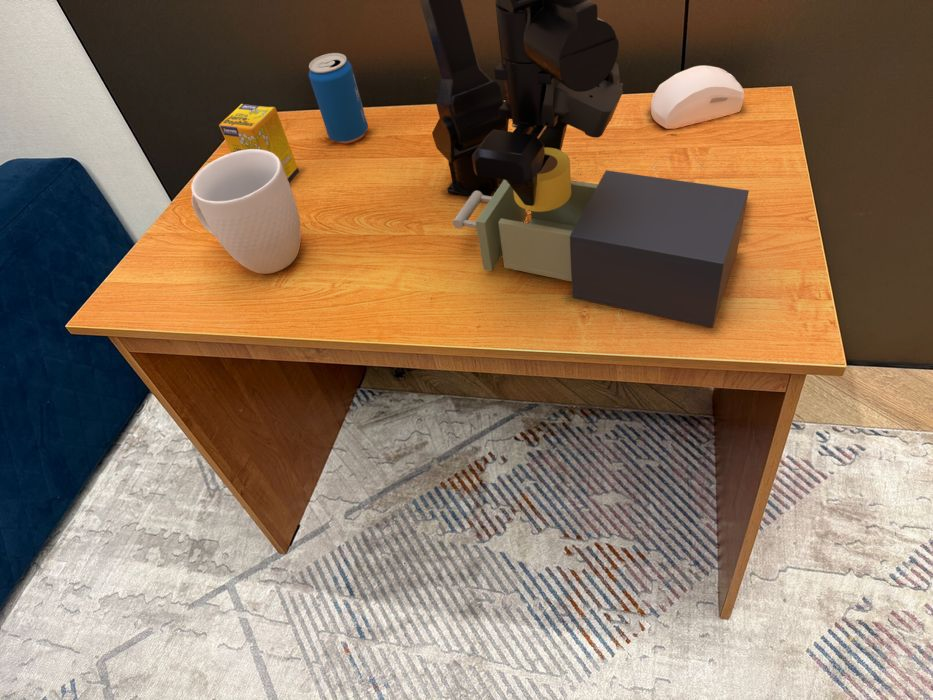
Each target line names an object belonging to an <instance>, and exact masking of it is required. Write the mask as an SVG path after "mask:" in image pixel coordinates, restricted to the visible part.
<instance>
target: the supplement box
mask: <svg viewBox="0 0 933 700" xmlns="http://www.w3.org/2000/svg"><path fill="white" fill-rule="evenodd" d="M281 121H282V120H281V118H280V116H279V113H278V110H277V108H276V107H275V106H262V105H253V104H246V103H241V104H240V105H238V107H237V108H235V110H233V111H232V112H231V113H230V114H229V115H228V116H227V117H226V118H224V120H223V121H221V122H220V123H219V124H218V127H219V129H220V131H221V134H222V135H223V138H224V140H225V142H226V145H227V147H228V149H229V151H230V153H233V152H237V151H241V150H248V149H259V150H266V151H269V152H271V153H273V154H275V155H276V156H277V157H278V158H279V160H280V162H281V164H282V167H283V170H284V172H285V174H286V177H287V180H288V181H289V183H291V181H292V180H293V179H294V178H295V177H296V176H297V174H299V172H300V171H299V167H298V165H297V162H296V159H295V157H294V154H293V151H292V148H291V145H290V144H289V140H288V138H287V137H288V136H287V135H286V132H285V130H284V127H283V124H282V122H281Z"/></svg>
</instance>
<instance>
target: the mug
mask: <svg viewBox="0 0 933 700" xmlns="http://www.w3.org/2000/svg"><path fill="white" fill-rule="evenodd" d="M190 187H191V188H190V189H191V193H192V194H191V197H190V198H191V205H192V209H193V212H194V214H195V216H196V218H197V220H199V222H200V224H201V225H202V227H203V228H204V229H205V230H206V231H207V232H208V233H210V234H211V235H212V236H214V237H215V238H216V239H217V241H218V242H219V244H220V245H221V247H222V248H223V249H224V250H225V252H227V253H228V254H229V255H230V256H231V257H232V258H233V259H234V261H236V262H237V263H239V264H240V265H241V266H242V267H244V268H246V269H247V270H249V271H251V272H254V273H256V274H261V275H268V274H274V273H277V272H280V271H283V270H284V269H287V268H288V267H290V265H291V264H293V263H294V261H295V260H296V258H297V256H298V255H299V251H300V246H301V241H302V228H301V227H302V226H301V225H302V223H301V219H300V218H301V217H300V214H299V208H298V205H297V202H296V197H295V195H294V192H293V190H292V188H291V184H290V182H289V181H288V180H287V177H286V174H285V172H284V170H283V167H282V164H281V162H280V160H279V158H278V157H277V156H276V155H275V154H273V153H271V152H269V151H266V150H259V149H248V150H241V151H237V152H233V153H231V152H230V153H228V154H225V155H222V156H220V157H218V158H216V159H214V160H212V161H211V162H209V163H207V164H206V165H205V166H203V167H202V168H201V169H200V170H199V171H198V172H197V173H196V175H194V177H193V179H192V181H191V186H190Z"/></svg>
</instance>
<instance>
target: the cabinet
mask: <svg viewBox="0 0 933 700" xmlns="http://www.w3.org/2000/svg"><path fill="white" fill-rule="evenodd" d="M597 184H598V186H597V188H596V189H595V191H594V193H593V195H592V197H591V198H590V200H589V202H588V204H587V206H586V207H585V209H584V211H583V213H582V215H581V216H580V218H579V220H578V222H577V224H576V226H575V227H574V229H573V231H572V233H571V235H570V255H571V279H572V282H571V295H572V299H577V300H582V301H586V302H591V303H595V304H598V305H599V304H600V305H605V306H609V307H614V308H618V309H623V310H626V311H627V310H628V311H632V312H636V313H642V314H645V315H651V316H655V317H660V318H665V319H669V320H674V321H677V322H683V323H687V324H691V325H697V326H700V327H706V328H711V329H713V328H714V325H715V322H716V320H717V317H718V313H719V310H720V307H721V304H722V301H723V299H724V296H725V295H724V294H725V292H726V289H727V287H728V282H729V280H730V277H731V275H732V274H731V273H732V271H733V268H734V265H735V262H736V259H737V255H738V251H739V245H740V241H741V234H742V230H743V225H744V224H743V223H744V218H745V214H746V208H747V204H748V198H749V192H750V190H749V189H741V188H735V187H727V186H722V185H713V184H707V183H699V182H692V181H685V180H679V179H672V178H662V177H657V176H649V175H642V174H636V173H628V172H621V171H614V170H605V171H604V173H603V175H602V176H601V178H600V181H599V183H597Z"/></svg>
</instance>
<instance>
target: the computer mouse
mask: <svg viewBox="0 0 933 700" xmlns="http://www.w3.org/2000/svg"><path fill="white" fill-rule="evenodd" d="M744 91H745V90H744V88H743V86H742V85H741V84H740V82H738V80H737V79H736V77H735V76H733V75H732V74H731V73H729V72H728V71H726V70H725V69H723V68H721V67H718V66H713V65H696V66H693V67H689V68H687V69H684V70H682V71H679V72H677V73H675V74H674V75H672V76H670V77H669V78H668V79H666V80H665V81H663V82H661V83H660V84H659V85H658V87H657V88H656V90H655V91H654V93H653V95H652V98H651V101H650V115H651V117H652V119H653V120H654V122H656V123H657V124H658V125H660V126H661V127H663V128H664V129H669V130H673V129H678V128H679V129H680V128H682V127H686V126H690V125H694V124H695V125H696V124H699V123H702V122H707V121H712V120H715V119H719V118H722V117H726V116H729V115H733V114H736V113H739V112H740V111H741V110H742V108H743V107H742V106H743V103H744V99H745V93H744Z"/></svg>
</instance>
